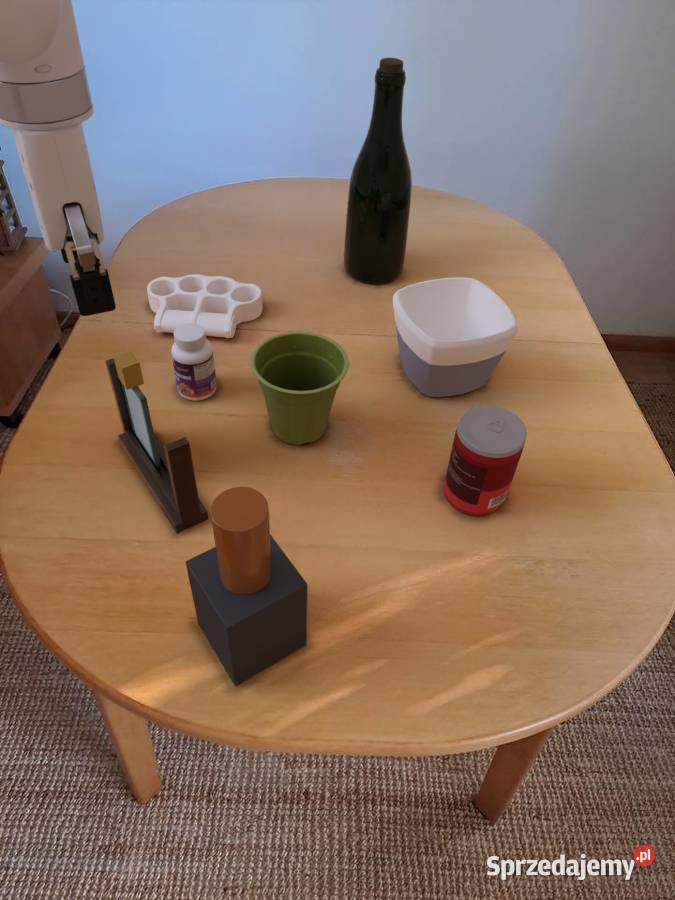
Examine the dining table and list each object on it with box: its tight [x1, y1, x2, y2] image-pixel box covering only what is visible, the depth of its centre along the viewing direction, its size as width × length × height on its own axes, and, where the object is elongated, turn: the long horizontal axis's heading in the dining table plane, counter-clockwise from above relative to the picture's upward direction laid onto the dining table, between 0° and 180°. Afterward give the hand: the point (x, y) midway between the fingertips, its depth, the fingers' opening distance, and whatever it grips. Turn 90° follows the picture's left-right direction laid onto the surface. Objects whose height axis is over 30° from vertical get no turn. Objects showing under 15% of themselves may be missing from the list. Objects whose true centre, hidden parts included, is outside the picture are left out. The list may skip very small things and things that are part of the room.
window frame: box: [104, 357, 210, 535], centre depth 77 cm, size 4×17×13 cm, turn 34°
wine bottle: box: [343, 57, 413, 285], centre depth 105 cm, size 10×10×33 cm
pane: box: [113, 350, 161, 468], centre depth 77 cm, size 2×7×14 cm, turn 34°
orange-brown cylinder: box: [209, 486, 272, 595], centre depth 56 cm, size 5×5×9 cm
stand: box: [185, 533, 308, 687], centre depth 64 cm, size 8×8×11 cm
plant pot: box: [249, 330, 350, 446], centre depth 85 cm, size 12×12×11 cm
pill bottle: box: [170, 323, 218, 402], centre depth 90 cm, size 5×5×10 cm
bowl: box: [392, 276, 519, 398], centre depth 94 cm, size 15×15×11 cm
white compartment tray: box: [146, 273, 264, 339], centre depth 105 cm, size 3×18×15 cm
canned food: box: [443, 404, 528, 517], centre depth 78 cm, size 8×8×11 cm
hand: (89, 284), depth 65 cm, fingers open, 9 cm apart
